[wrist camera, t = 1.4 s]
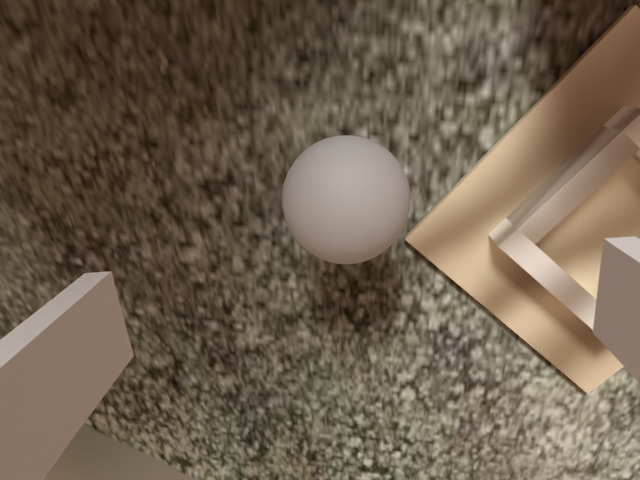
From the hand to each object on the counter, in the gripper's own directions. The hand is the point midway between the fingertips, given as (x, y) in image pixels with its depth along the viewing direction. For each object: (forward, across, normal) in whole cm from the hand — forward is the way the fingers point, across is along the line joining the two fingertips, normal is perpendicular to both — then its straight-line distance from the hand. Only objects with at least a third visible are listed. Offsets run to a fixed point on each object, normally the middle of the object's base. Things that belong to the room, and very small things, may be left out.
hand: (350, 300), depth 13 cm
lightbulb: (+19, 0, 0) cm, 19 cm away
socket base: (+18, +16, -5) cm, 25 cm away
